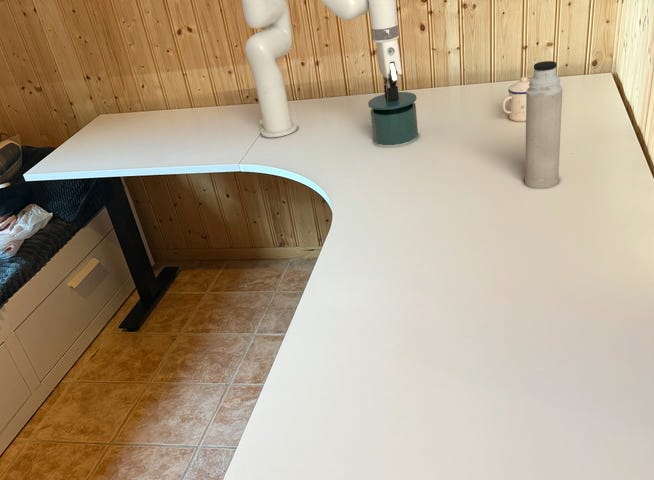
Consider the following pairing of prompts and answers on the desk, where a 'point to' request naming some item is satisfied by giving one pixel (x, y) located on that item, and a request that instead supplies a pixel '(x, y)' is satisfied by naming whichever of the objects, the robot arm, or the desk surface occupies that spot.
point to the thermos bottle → (543, 126)
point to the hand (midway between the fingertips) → (392, 99)
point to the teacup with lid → (517, 100)
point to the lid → (383, 103)
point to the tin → (394, 125)
